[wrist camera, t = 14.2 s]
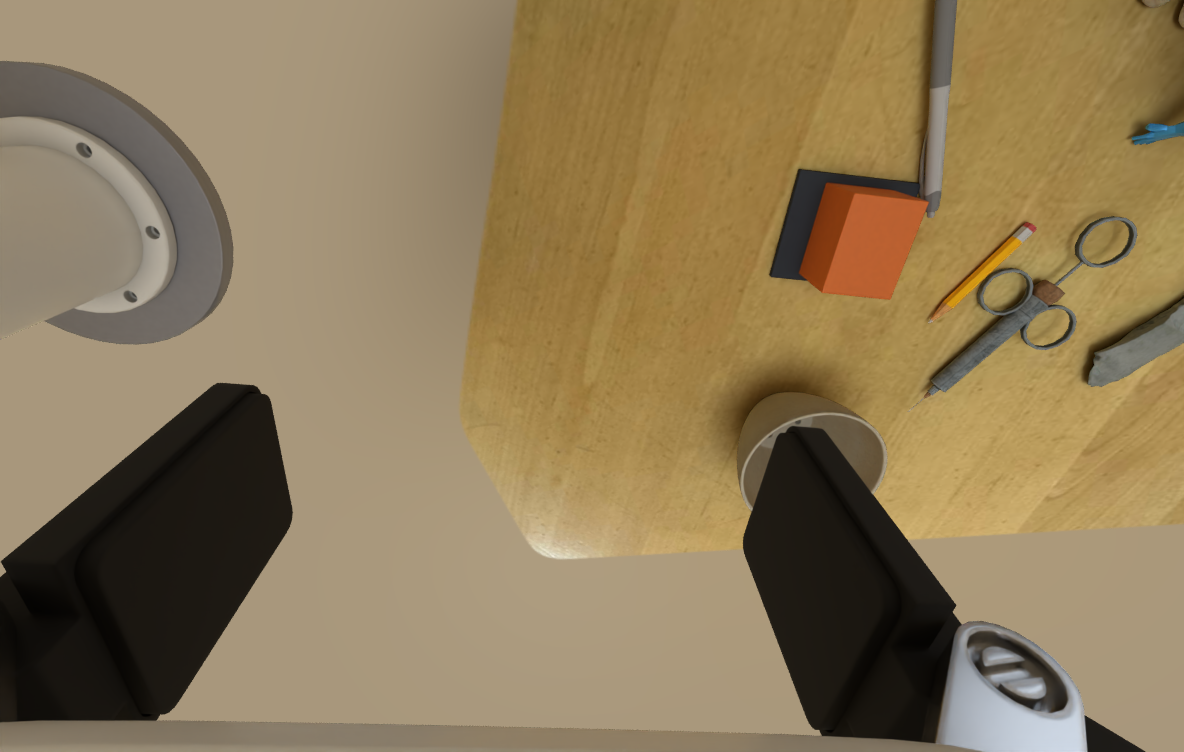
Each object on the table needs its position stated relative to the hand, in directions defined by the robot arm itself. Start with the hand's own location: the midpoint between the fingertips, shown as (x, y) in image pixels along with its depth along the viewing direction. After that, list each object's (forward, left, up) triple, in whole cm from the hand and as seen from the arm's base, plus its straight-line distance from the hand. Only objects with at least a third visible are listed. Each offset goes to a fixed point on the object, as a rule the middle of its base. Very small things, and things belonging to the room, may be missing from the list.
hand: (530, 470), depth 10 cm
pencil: (+29, -2, -27) cm, 40 cm away
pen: (+21, +8, -28) cm, 36 cm away
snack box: (+19, 0, -27) cm, 33 cm away
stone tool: (+42, -3, -26) cm, 50 cm away
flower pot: (+19, -15, -28) cm, 37 cm away
